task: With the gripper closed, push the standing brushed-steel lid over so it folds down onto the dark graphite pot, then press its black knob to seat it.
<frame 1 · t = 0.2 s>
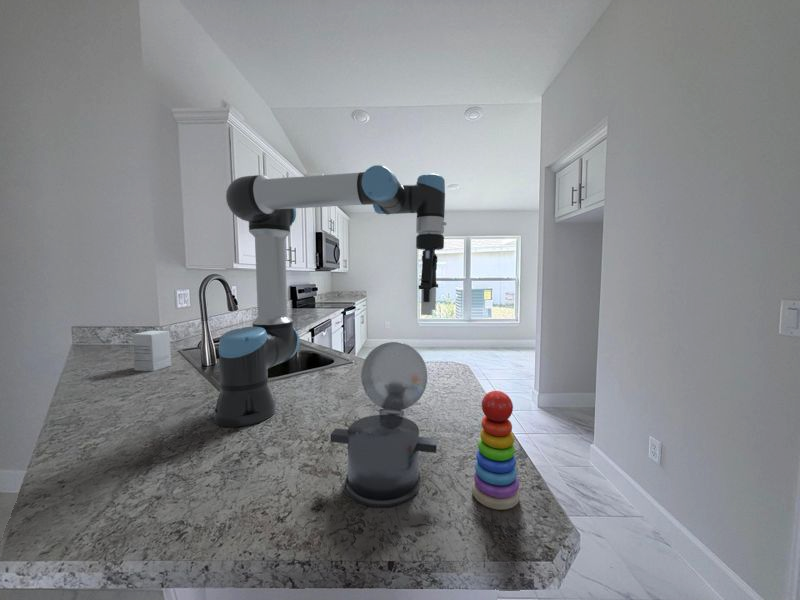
hand: (428, 312, 90), 28 cm above the table, fingers open, 13 cm apart
supplement box: (153, 368, 134), on the table
lid: (394, 377, 69), point 17 cm above the table, hinge at 100.0°
stacking toy: (495, 497, 57), on the table
pot: (383, 481, 60), on the table
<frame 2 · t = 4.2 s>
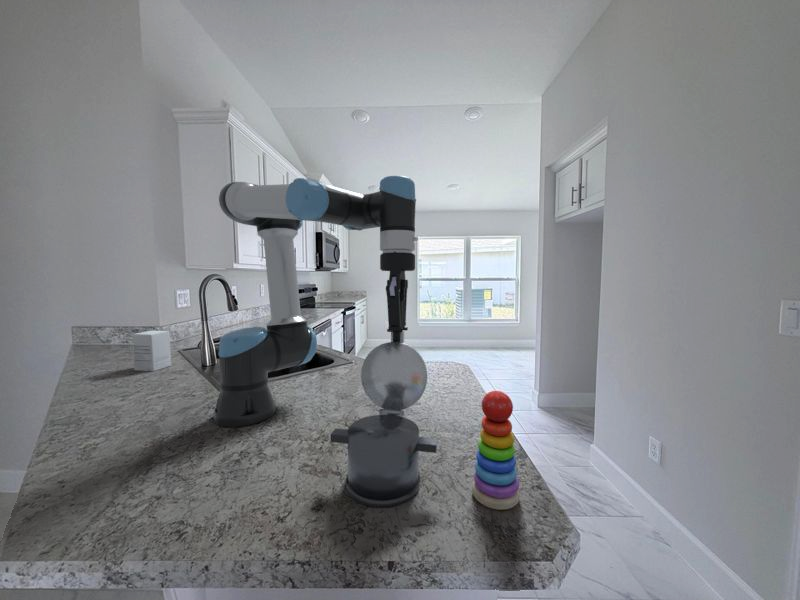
hand: (397, 360, 71), 20 cm above the table, fingers closed
lid: (394, 377, 69), point 17 cm above the table, hinge at 98.5°, touching gripper
everything else where it was.
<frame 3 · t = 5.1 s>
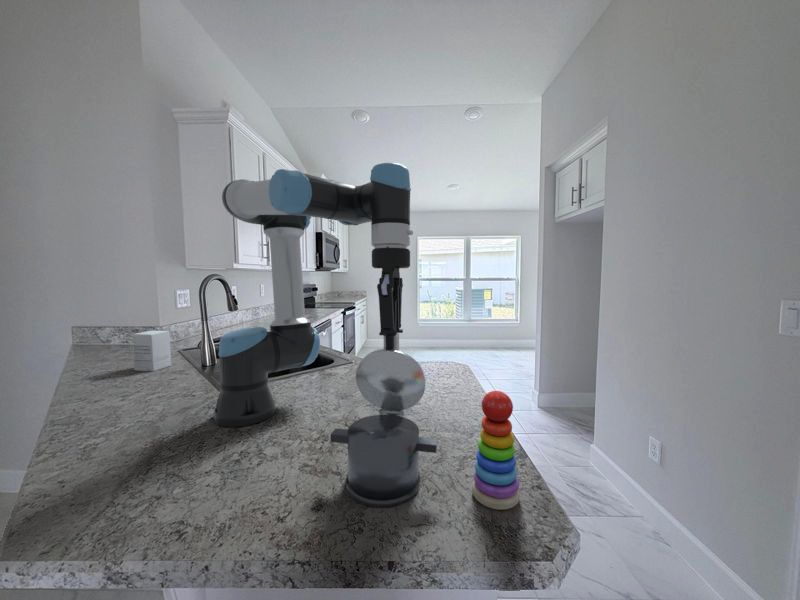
hand: (391, 366, 65), 20 cm above the table, fingers closed, pressing on lid
lid: (391, 380, 65), point 17 cm above the table, hinge at 72.0°, touching gripper
everything else where it was.
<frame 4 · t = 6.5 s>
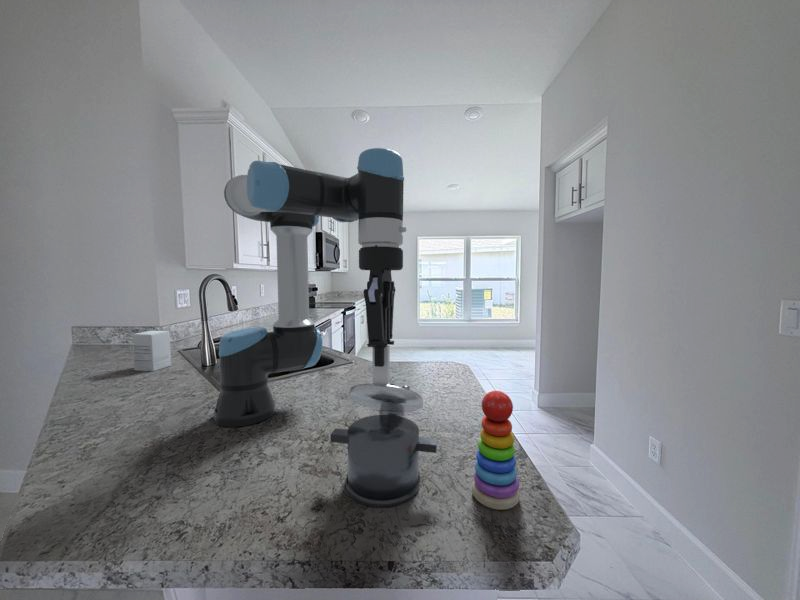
hand: (381, 382, 57), 19 cm above the table, fingers closed
lid: (386, 396, 62), point 15 cm above the table, hinge at 37.3°, touching gripper
everything else where it was.
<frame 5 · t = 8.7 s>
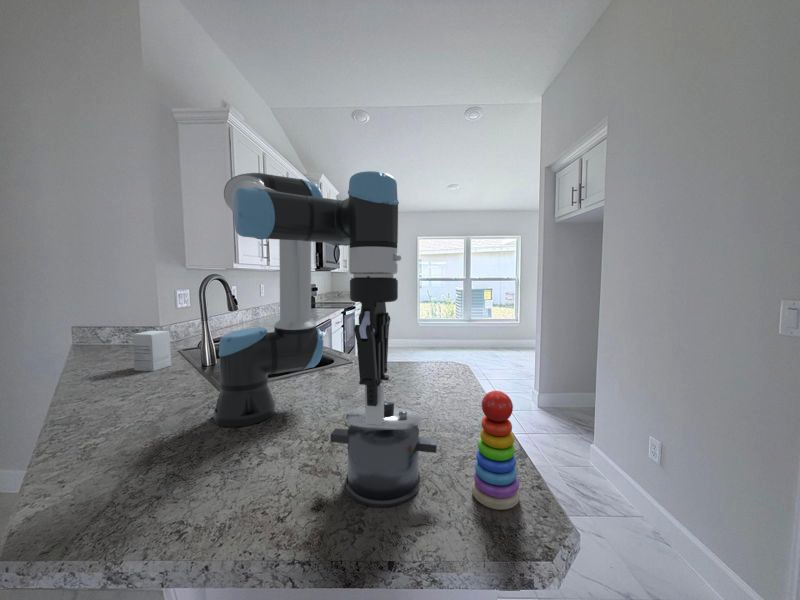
hand: (374, 421, 53), 14 cm above the table, fingers closed
lid: (384, 412, 60), point 13 cm above the table, hinge at 12.1°, touching gripper
everything else where it was.
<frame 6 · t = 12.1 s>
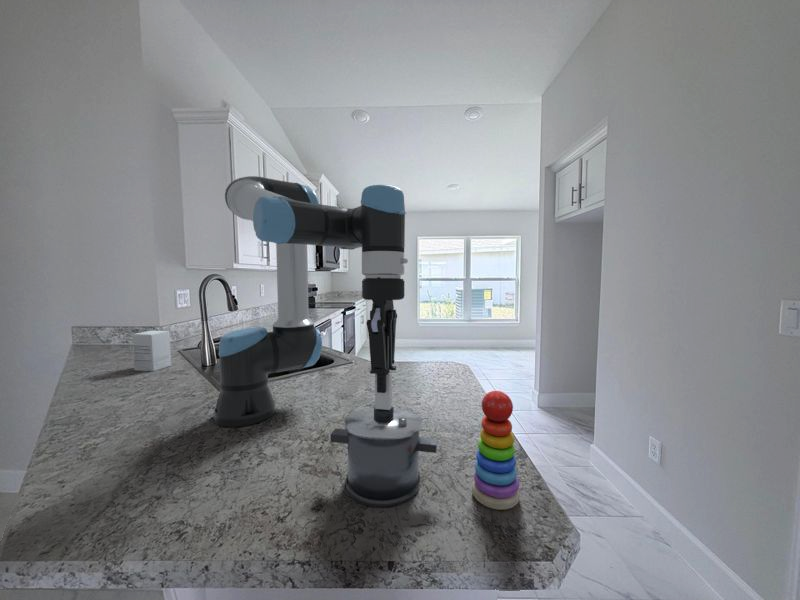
hand: (383, 407, 59), 14 cm above the table, fingers closed
lid: (384, 417, 60), point 12 cm above the table, hinge at 5.7°, touching gripper
everything else where it was.
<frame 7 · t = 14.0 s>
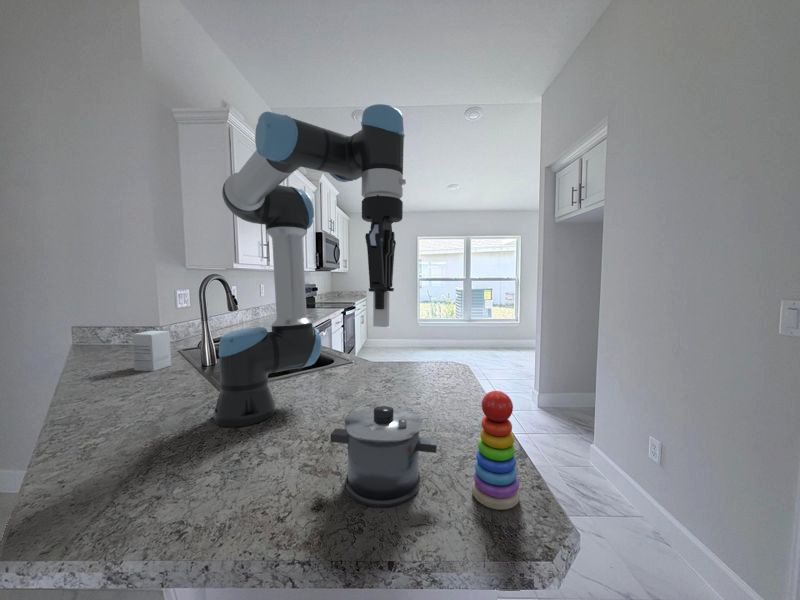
hand: (381, 325, 62), 29 cm above the table, fingers closed
lid: (384, 418, 60), point 12 cm above the table, hinge at 4.2°
everything else where it was.
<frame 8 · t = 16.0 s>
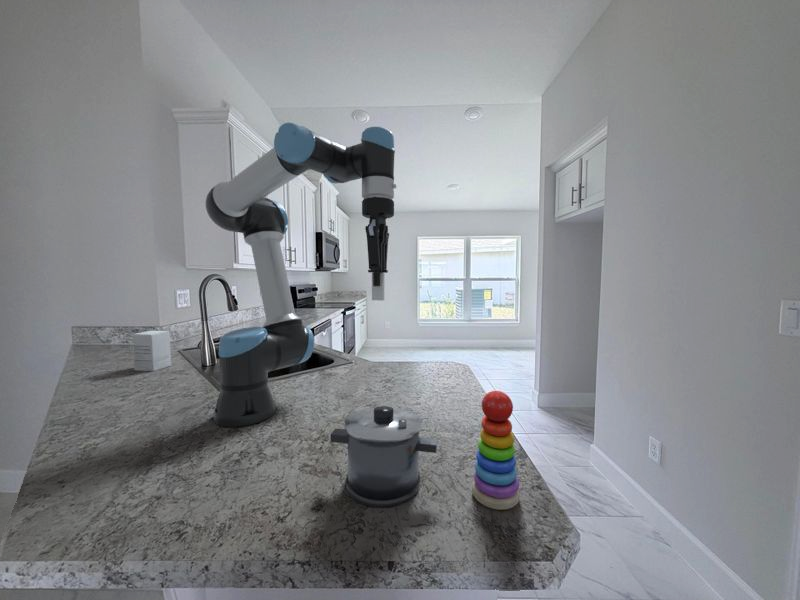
hand: (378, 300, 78), 32 cm above the table, fingers closed
nothing on the table moved.
at the end: lid at +4° (first picture: +100°) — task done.
